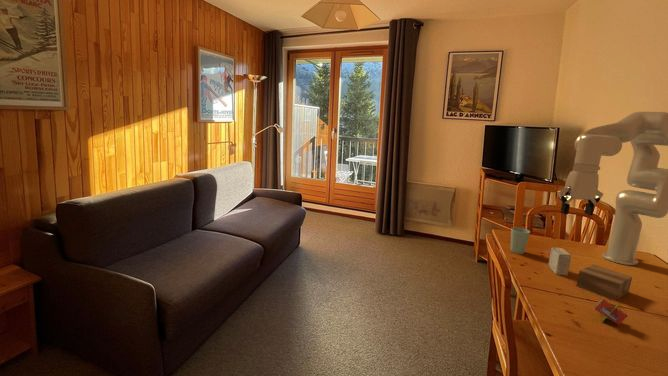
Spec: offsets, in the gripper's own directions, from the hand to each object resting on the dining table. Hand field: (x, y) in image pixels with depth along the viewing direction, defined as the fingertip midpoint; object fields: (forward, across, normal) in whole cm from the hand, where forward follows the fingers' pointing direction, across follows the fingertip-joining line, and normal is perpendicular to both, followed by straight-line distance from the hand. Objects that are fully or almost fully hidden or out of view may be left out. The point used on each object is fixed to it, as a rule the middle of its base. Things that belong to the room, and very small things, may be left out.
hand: (576, 214), depth 131 cm
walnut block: (+25, -7, +10) cm, 28 cm away
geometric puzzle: (+26, +9, +30) cm, 41 cm away
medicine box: (+25, -1, -5) cm, 26 cm away
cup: (+25, +3, -25) cm, 36 cm away
